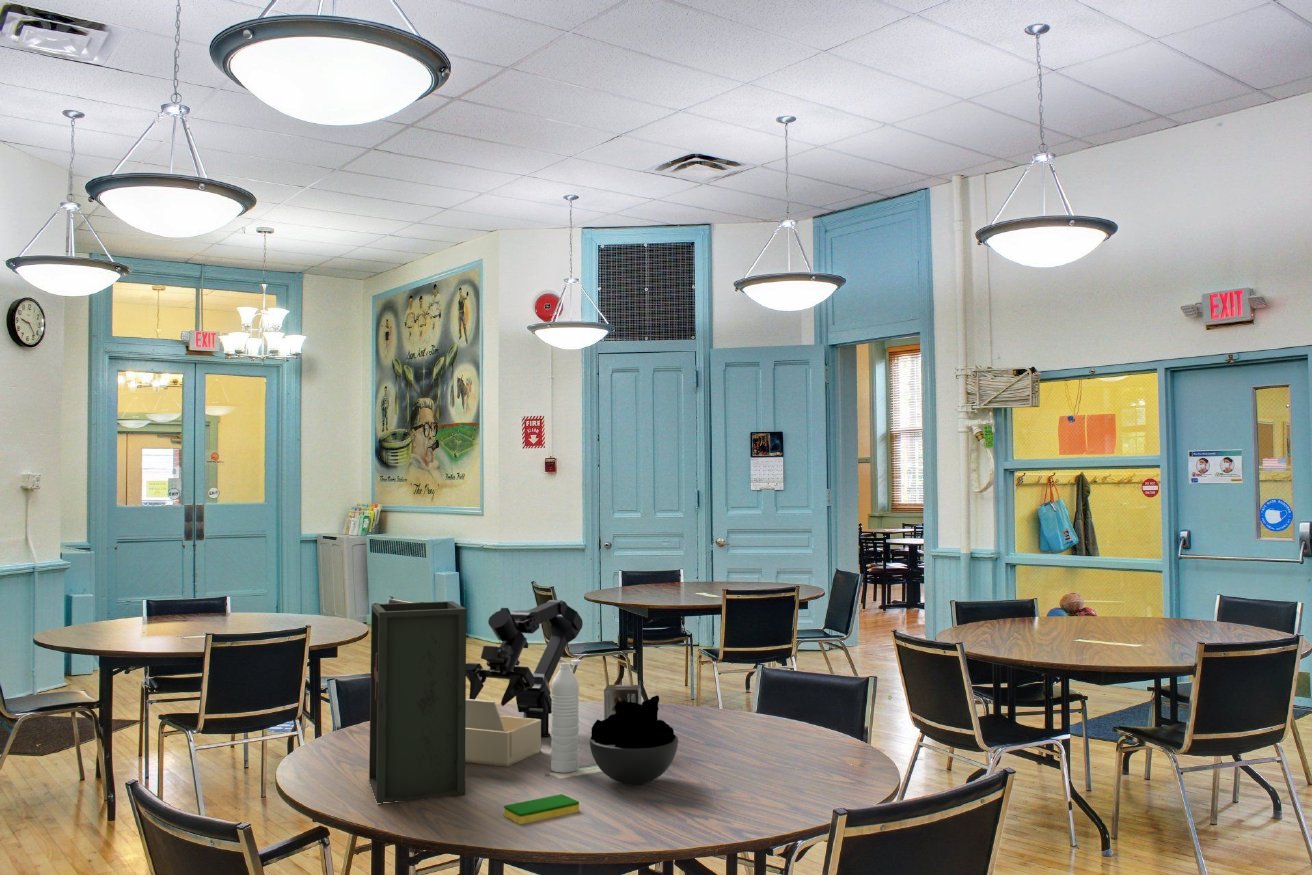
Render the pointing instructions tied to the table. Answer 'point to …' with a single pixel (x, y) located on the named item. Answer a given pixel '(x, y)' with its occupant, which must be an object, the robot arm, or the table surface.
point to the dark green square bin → (417, 701)
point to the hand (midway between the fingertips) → (486, 703)
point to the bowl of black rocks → (633, 743)
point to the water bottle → (565, 720)
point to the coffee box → (620, 696)
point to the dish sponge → (541, 808)
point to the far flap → (483, 715)
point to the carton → (504, 742)
